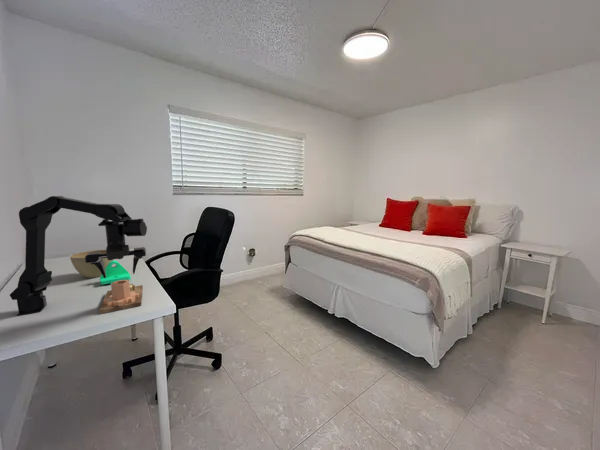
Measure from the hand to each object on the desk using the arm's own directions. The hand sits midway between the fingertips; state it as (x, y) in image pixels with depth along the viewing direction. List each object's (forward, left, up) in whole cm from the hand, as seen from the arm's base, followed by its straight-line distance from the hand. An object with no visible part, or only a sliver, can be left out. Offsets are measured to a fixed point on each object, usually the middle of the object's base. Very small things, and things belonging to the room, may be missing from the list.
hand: (119, 275), depth 98 cm
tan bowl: (-16, +50, -12) cm, 54 cm away
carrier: (0, +5, -12) cm, 13 cm away
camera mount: (-6, +33, -12) cm, 35 cm away
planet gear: (0, 0, -10) cm, 10 cm away
